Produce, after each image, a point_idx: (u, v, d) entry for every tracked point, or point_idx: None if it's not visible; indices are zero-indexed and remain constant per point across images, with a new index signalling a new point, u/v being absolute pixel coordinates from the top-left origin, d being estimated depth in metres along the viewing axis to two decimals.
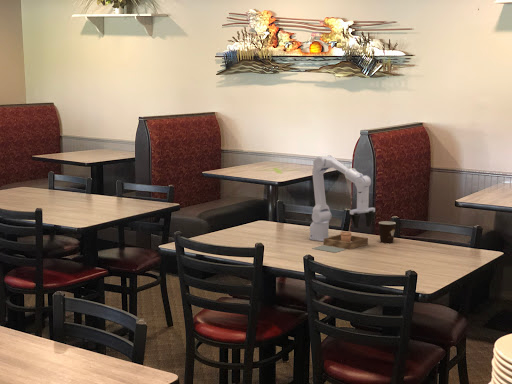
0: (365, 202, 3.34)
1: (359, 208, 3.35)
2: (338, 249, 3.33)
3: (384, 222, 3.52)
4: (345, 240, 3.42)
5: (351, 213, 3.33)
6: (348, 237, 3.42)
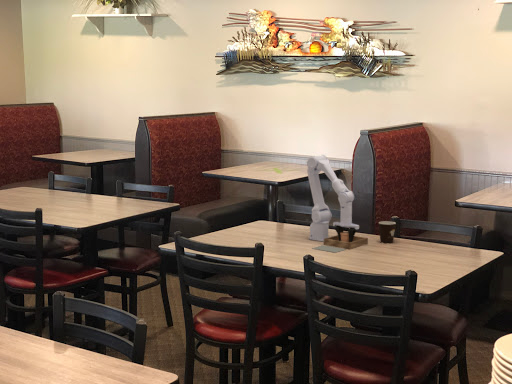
0: (342, 216, 3.41)
1: None
2: (338, 249, 3.33)
3: (384, 222, 3.52)
4: (345, 240, 3.42)
5: None
6: (348, 237, 3.42)
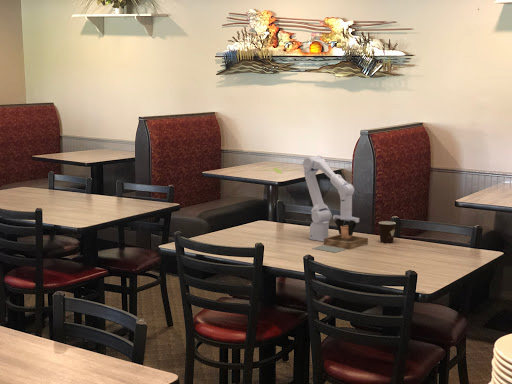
0: (342, 210, 3.41)
1: None
2: (338, 249, 3.33)
3: (384, 222, 3.52)
4: (345, 233, 3.42)
5: None
6: (348, 230, 3.42)
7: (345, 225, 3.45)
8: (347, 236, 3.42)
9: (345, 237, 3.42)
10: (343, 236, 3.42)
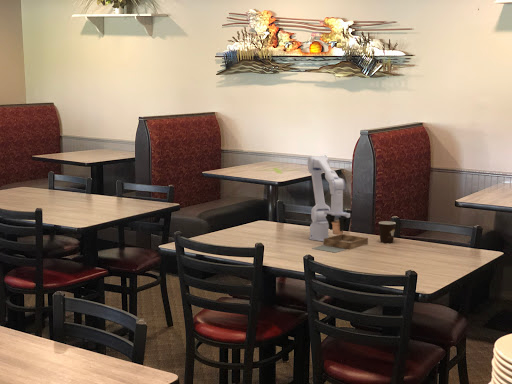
0: (332, 205, 3.34)
1: None
2: (338, 249, 3.33)
3: (384, 222, 3.52)
4: (337, 229, 3.36)
5: (324, 213, 3.41)
6: (339, 226, 3.35)
7: (336, 221, 3.39)
8: (339, 232, 3.36)
9: (337, 233, 3.36)
10: (335, 232, 3.36)
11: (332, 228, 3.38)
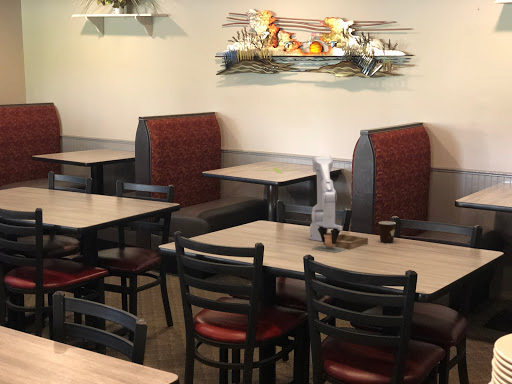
0: (325, 217, 3.30)
1: None
2: (338, 249, 3.33)
3: (384, 222, 3.52)
4: (329, 242, 3.32)
5: None
6: None
7: (329, 233, 3.35)
8: (331, 245, 3.32)
9: (329, 246, 3.32)
10: (327, 245, 3.33)
11: None
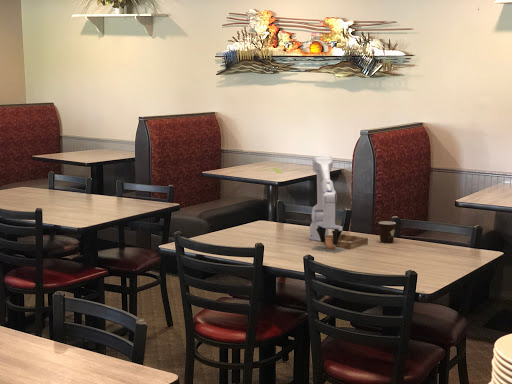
0: (325, 218, 3.30)
1: None
2: (338, 249, 3.33)
3: (384, 222, 3.52)
4: (329, 244, 3.32)
5: None
6: None
7: (330, 235, 3.35)
8: (331, 247, 3.32)
9: (329, 248, 3.33)
10: (327, 247, 3.33)
11: (325, 243, 3.35)
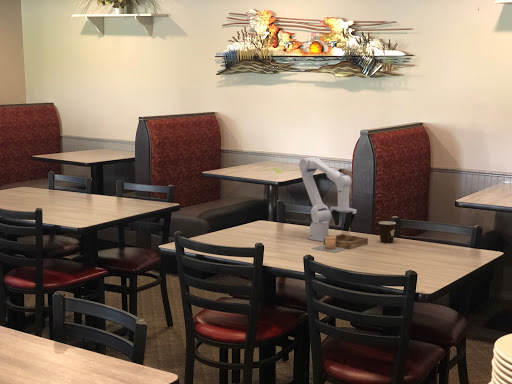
0: (339, 201, 3.40)
1: None
2: (338, 249, 3.33)
3: (384, 222, 3.52)
4: (329, 244, 3.32)
5: (331, 209, 3.47)
6: (333, 241, 3.32)
7: (330, 235, 3.35)
8: (331, 247, 3.32)
9: (329, 248, 3.33)
10: (327, 247, 3.33)
11: (325, 243, 3.35)
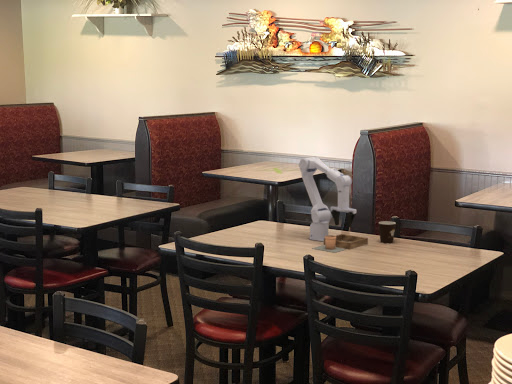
0: (339, 201, 3.40)
1: None
2: (338, 249, 3.33)
3: (384, 222, 3.52)
4: (330, 244, 3.32)
5: (331, 209, 3.47)
6: (333, 241, 3.32)
7: (330, 235, 3.35)
8: (332, 247, 3.32)
9: (329, 248, 3.33)
10: (327, 247, 3.33)
11: (325, 243, 3.35)
